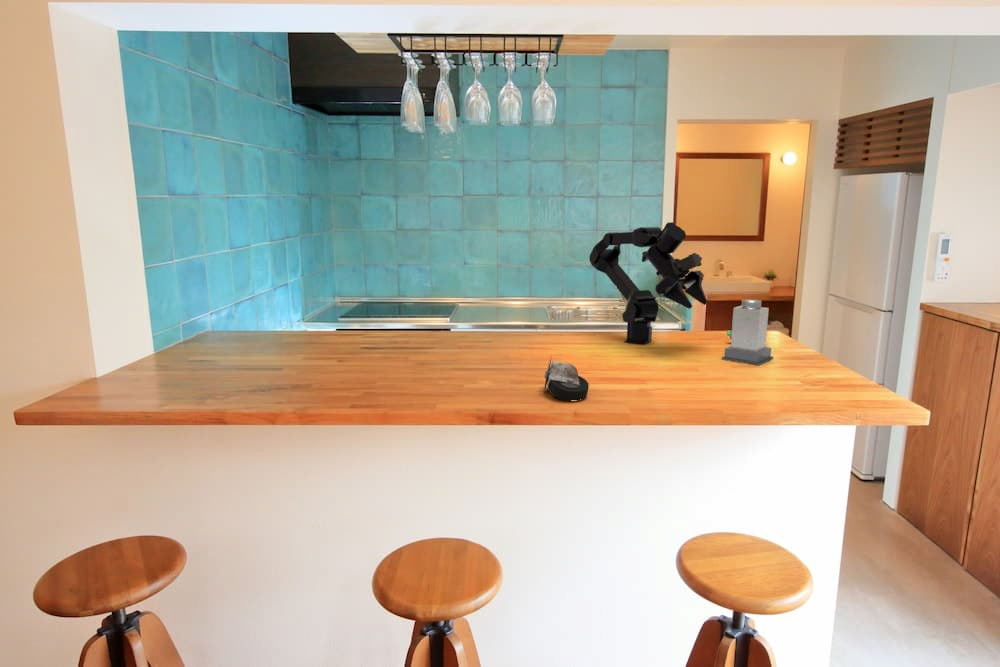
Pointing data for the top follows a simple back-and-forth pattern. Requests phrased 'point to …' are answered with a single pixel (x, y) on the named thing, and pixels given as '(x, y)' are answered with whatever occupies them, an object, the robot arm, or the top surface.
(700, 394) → the top surface
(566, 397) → the caster wheel
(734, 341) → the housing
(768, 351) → the stand
